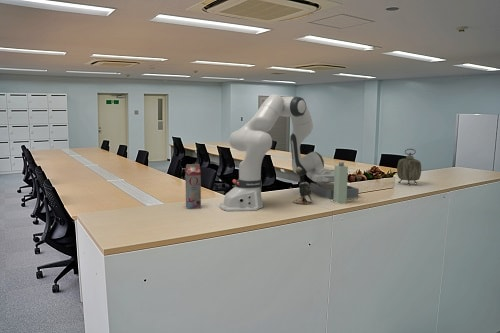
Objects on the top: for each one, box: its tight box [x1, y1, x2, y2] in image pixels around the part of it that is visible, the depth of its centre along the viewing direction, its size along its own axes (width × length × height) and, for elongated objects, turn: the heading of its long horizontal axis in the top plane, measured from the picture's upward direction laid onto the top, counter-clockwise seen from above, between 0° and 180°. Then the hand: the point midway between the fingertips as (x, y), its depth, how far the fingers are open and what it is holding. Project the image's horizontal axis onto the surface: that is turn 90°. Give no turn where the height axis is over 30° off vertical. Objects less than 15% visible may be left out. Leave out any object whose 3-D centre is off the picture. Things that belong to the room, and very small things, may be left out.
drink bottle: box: [332, 161, 349, 204], centre depth 210 cm, size 5×5×22 cm
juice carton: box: [185, 163, 202, 210], centre depth 196 cm, size 7×7×22 cm
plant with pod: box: [292, 167, 313, 205], centre depth 208 cm, size 8×11×20 cm
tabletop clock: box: [396, 148, 422, 185], centre depth 268 cm, size 14×9×25 cm, turn 77°
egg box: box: [315, 182, 334, 190], centre depth 235 cm, size 12×8×6 cm, turn 109°
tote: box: [309, 182, 360, 201], centre depth 229 cm, size 18×24×6 cm
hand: (336, 179), depth 214 cm, fingers open, 8 cm apart
